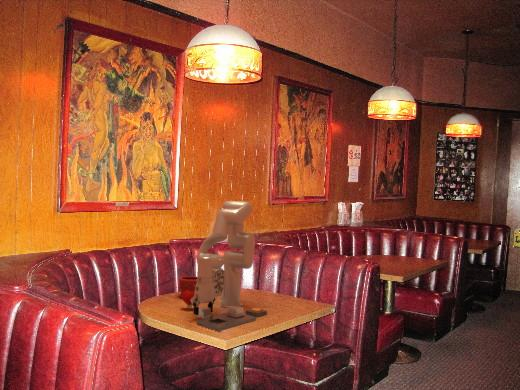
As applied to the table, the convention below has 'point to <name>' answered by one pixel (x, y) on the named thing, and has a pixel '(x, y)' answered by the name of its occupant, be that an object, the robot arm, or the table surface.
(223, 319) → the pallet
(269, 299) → the table surface
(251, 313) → the button housing
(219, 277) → the decorative jar
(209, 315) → the block
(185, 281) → the plant pot
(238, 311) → the seated billet
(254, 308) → the button
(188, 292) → the light bulb
